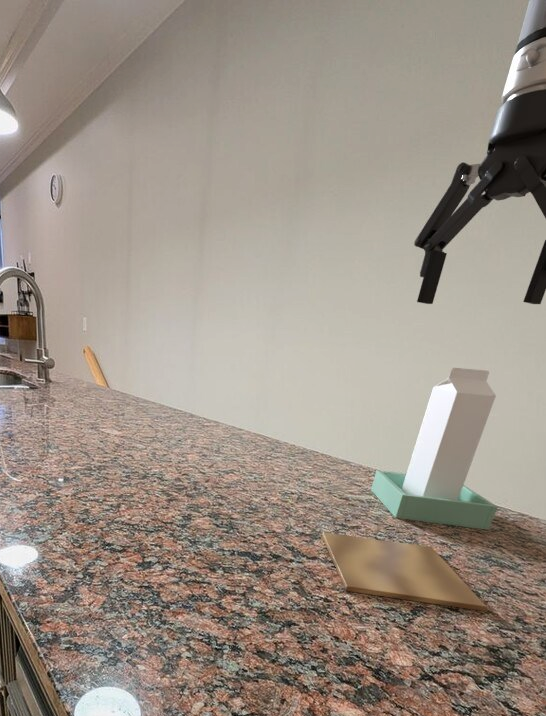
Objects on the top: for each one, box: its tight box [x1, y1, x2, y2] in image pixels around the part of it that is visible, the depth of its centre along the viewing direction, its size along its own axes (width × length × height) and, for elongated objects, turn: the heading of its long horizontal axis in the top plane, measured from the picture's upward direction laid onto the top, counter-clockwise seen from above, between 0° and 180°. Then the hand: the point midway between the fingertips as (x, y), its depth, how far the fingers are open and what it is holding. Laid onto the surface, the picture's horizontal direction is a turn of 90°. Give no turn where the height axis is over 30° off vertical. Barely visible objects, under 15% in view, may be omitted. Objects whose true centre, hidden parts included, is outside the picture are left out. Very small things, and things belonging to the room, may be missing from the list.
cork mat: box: [321, 532, 488, 612], centre depth 53 cm, size 14×14×1 cm
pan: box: [370, 469, 498, 531], centre depth 74 cm, size 14×14×4 cm
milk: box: [402, 367, 497, 500], centre depth 70 cm, size 6×6×22 cm
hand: (473, 303), depth 60 cm, fingers open, 13 cm apart
